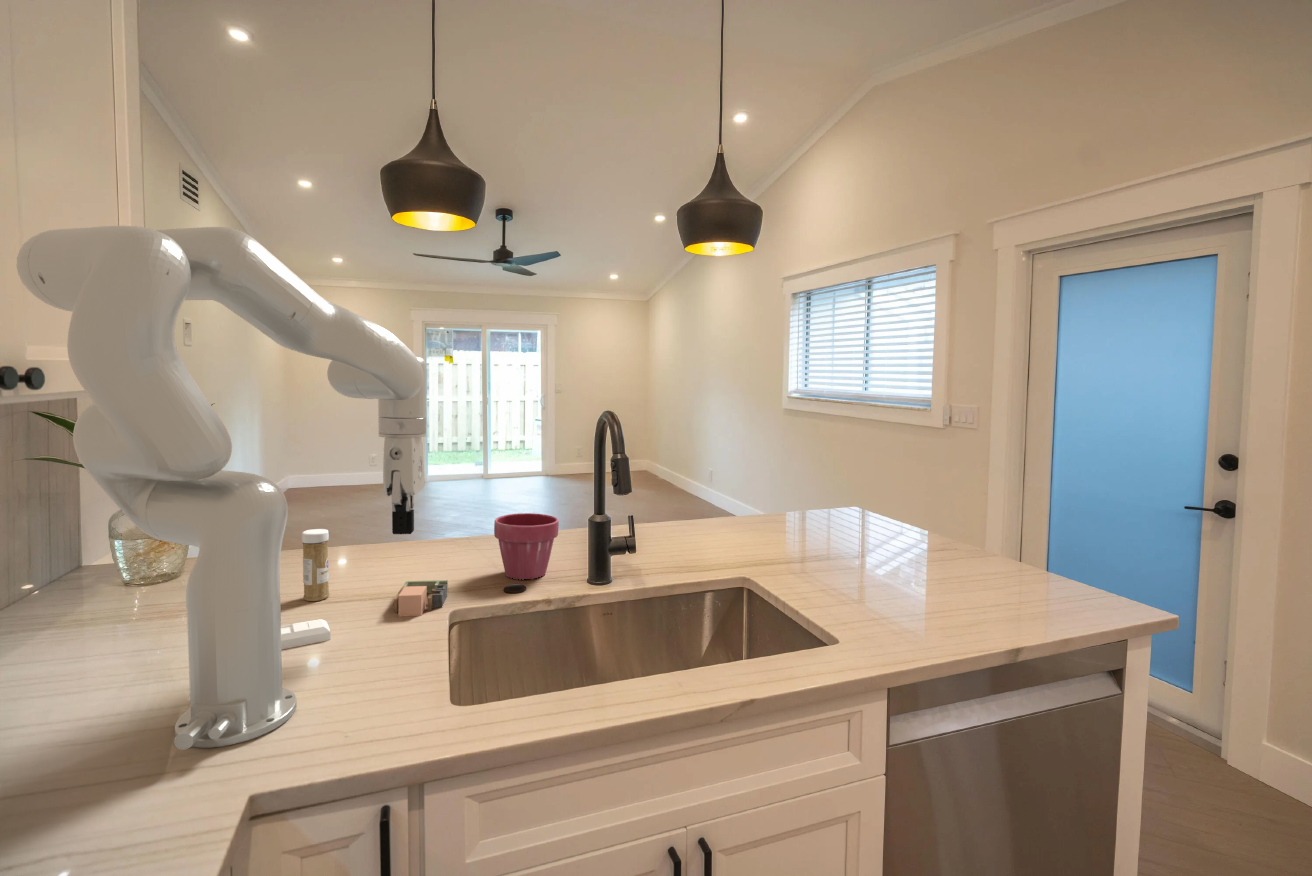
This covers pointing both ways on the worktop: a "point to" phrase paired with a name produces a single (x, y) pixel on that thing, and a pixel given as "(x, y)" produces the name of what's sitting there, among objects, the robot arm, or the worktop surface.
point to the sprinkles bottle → (315, 564)
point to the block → (412, 601)
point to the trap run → (434, 587)
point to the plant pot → (525, 543)
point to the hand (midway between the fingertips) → (403, 532)
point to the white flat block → (304, 633)
